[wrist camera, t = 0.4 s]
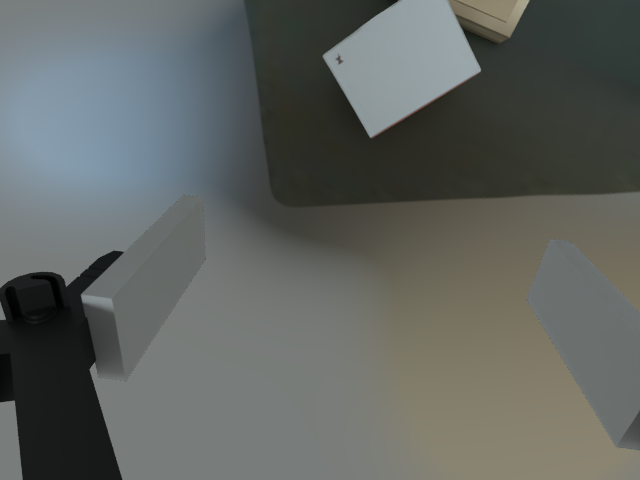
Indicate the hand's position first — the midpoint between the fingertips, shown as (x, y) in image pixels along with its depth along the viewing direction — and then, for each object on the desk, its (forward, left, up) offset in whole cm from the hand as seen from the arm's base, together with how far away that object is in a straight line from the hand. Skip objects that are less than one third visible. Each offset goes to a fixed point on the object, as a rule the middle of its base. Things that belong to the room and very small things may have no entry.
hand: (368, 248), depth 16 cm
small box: (-7, -2, -27) cm, 28 cm away
